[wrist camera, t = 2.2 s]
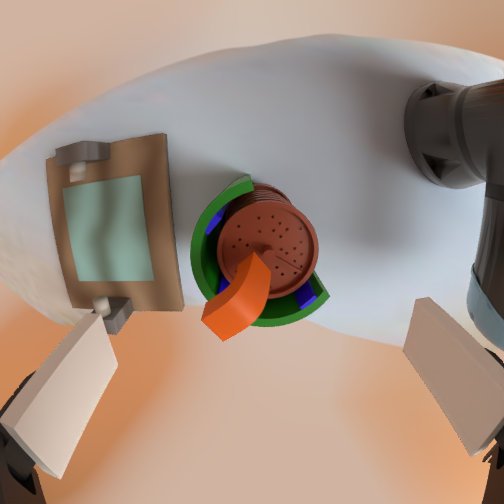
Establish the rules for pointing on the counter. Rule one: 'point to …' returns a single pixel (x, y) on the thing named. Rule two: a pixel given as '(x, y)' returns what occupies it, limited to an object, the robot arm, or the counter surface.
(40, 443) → the robot arm
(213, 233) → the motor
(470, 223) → the counter surface
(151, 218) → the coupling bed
